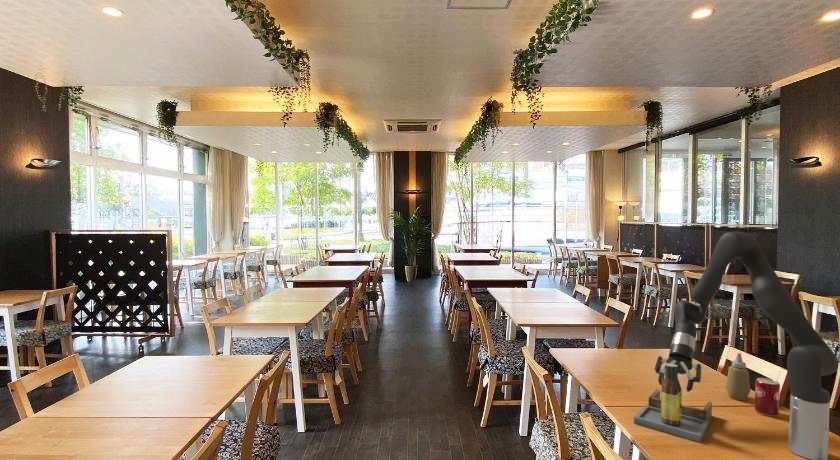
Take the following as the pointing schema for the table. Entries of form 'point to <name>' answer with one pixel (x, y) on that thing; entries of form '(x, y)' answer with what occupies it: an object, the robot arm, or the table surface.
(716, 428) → the table surface
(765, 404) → the soda can
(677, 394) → the sauce bottle
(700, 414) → the holder
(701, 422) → the tray
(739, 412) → the table surface
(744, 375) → the squeeze bottle
